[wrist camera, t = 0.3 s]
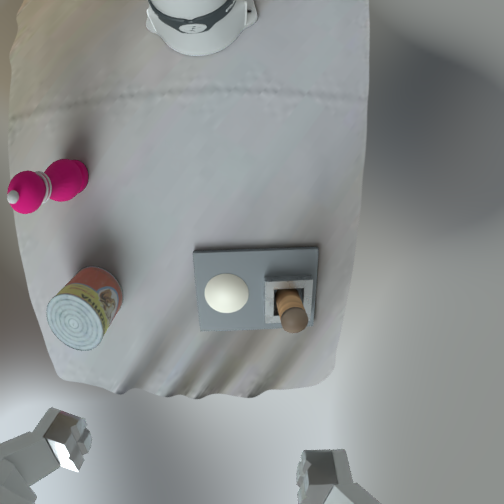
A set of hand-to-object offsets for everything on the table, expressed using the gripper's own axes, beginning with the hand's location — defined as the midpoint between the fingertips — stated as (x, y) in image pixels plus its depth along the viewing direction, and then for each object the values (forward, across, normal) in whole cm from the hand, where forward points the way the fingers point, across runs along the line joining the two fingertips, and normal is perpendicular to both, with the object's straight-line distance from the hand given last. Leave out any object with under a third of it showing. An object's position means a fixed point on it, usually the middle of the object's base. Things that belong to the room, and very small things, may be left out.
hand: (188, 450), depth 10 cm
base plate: (+48, -3, +14) cm, 50 cm away
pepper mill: (+44, +32, -5) cm, 55 cm away
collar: (+47, -8, +15) cm, 50 cm away
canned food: (+46, +28, +18) cm, 57 cm away
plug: (+47, -8, +15) cm, 50 cm away
